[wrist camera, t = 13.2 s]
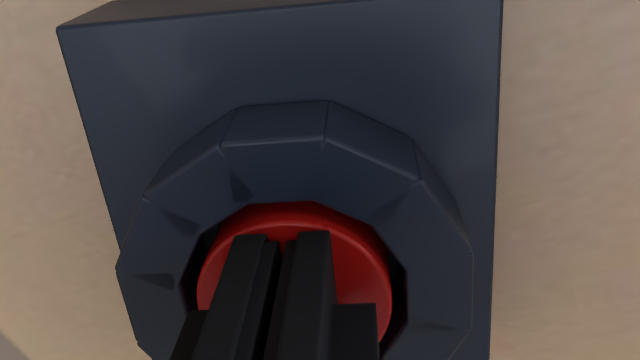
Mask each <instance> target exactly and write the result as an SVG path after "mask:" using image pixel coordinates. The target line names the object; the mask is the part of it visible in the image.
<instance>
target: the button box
mask: <svg viewBox="0 0 640 360" xmlns="http://www.w3.org/2000/svg"><path fill="white" fill-rule="evenodd" d="M502 23H503V0H120V1H111V2H109V3H106V4H104V5H102V6H100V7H98V8H96V9H93V10H91V11H89V12H87V13H85V14H83V15H81V16H78V17H76V18H74V19H72V20H70V21H68V22H65V23H63V24H61V25H59V26H57V27H56V34H57V37H58V41H59V44H60V47H61V51H62V54H63V58H64V61H65V64H66V68H67V71H68V75H69V78H70V81H71V85H72V88H73V92H74V95H75V98H76V102H77V105H78V109H79V112H80V116H81V119H82V122H83V126H84V129H85V133H86V136H87V139H88V143H89V146H90V150H91V153H92V156H93V160H94V163H95V167H96V170H97V174H98V177H99V180H100V184H101V187H102V191H103V194H104V197H105V201H106V204H107V208H108V211H109V214H110V218H111V221H112V225H113V228H114V231H115V235H116V238H117V242H118V245H119V249H120V255H119V257H118V260H117V263H116V266H115V270H116V275H117V279H118V282H119V285H120V289H121V292H122V295H123V299H124V302H125V305H126V308H127V312H128V315H129V318H130V322H131V325H132V328H133V331H134V335H135V338H136V340H137V341H138V343H137V344H138V346H139V347H140V348H141V349H142V350H143V351H144V352H145V353H146V354H148V355H149V356H150V357H151V358H152V360H170V357H171V355H172V352H173V349H174V347H175V344H176V342H177V339H178V337H179V334H180V332H181V329H182V327H183V324H184V322H185V319H186V317H187V315H188V314H189V312H191V311H192V310H198V304H197V283H198V277H199V274H200V271H201V269H202V266H203V264H204V261H205V259H206V256H207V254H208V251H209V249H210V246H211V244H212V241H213V239H214V237H215V234H216V232H217V229H218V227H219V224H220V222H221V221H223V220H224V219H226V218H227V217H229V216H231V215H232V214H234V213H235V212H237V211H239V210H240V209H242V208H243V207H245V206H247V205H248V204H265V203H282V202H298V201H314V202H317V203H319V204H322V205H324V206H326V207H329V208H331V209H333V210H336V211H338V212H340V213H343V214H345V215H347V216H350V217H352V218H354V219H357V220H359V221H361V222H364V223H366V224H368V225H371V226H372V228H373V229H374V230H375V232H376V233H377V234H378V236H379V237H380V238H381V239H382V241H383V242H384V243H385V245H386V246H387V247H388V255H389V267H390V278H391V290H392V313H391V319H390V322H389V325H388V328H387V330H386V332H385V334H384V336H383V337H382V339H381V341H380V342H379V355H380V360H489V359H490V333H491V307H492V281H493V255H494V229H495V204H496V178H497V152H498V126H499V100H500V75H501V49H502Z"/></svg>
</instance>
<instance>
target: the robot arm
mask: <svg viewBox="0 0 640 360" xmlns="http://www.w3.org/2000/svg"><path fill="white" fill-rule="evenodd" d="M170 360H380V355H379V339H378V325H377V311H376V302H375V303H352V304H338V302H337V292H336V283H335V273H334V264H333V254H332V245H331V236H330V231H329V230H320V231H302V232H298V235H297V240H287V242H286V246H285V251H284V256H283V261H282V255H281V249H280V244H279V242H278V241H269V239H268V236H267V234H266V233H265V234H246V235H235V236H234V238H233V241H232V244H231V246H230V249H229V252H228V255H227V258H226V261H225V264H224V266H223V269H222V272H221V275H220V278H219V281H218V284H217V286H216V289H215V292H214V295H213V298H212V301H211V304H210V306H209V309H208V310H192V311H191V312H189V314H188V315H187V317H186V319H185V322H184V324H183V327H182V329H181V332H180V334H179V337H178V339H177V342H176V344H175V347H174V349H173V352H172V355H171V357H170Z"/></svg>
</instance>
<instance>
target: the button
mask: <svg viewBox="0 0 640 360" xmlns="http://www.w3.org/2000/svg"><path fill="white" fill-rule="evenodd" d="M320 230H329V231H330V236H331V245H332V254H333V264H334V273H335V283H336V292H337V302H338V304H352V303H375V302H376V311H377V325H378V339H379V342H380V341H381V339H382V337H383V336H384V334H385V332H386V330H387V328H388V325H389V322H390V319H391V313H392V290H391V278H390V267H389V255H388V247H387V246H386V245H385V243H384V242H383V241H382V239H381V238H380V237H379V236H378V234H377V233H376V232H375V230H374V229H373V228H372V226H371V225H368V224H366V223H364V222H361V221H359V220H357V219H354V218H352V217H350V216H347V215H345V214H343V213H340V212H338V211H336V210H333V209H331V208H329V207H326V206H324V205H322V204H319V203H317V202H314V201H298V202H282V203H265V204H248V205H247V206H245V207H243V208H242V209H240V210H239V211H237V212H235V213H234V214H232V215H231V216H229V217H227V218H226V219H224V220H223V221H221V222H220V224H219V227H218V229H217V232H216V234H215V237H214V239H213V241H212V244H211V246H210V249H209V251H208V254H207V256H206V259H205V261H204V264H203V266H202V269H201V271H200V274H199V277H198V283H197V304H198V310H208V309H209V306H210V304H211V301H212V298H213V295H214V292H215V289H216V286H217V284H218V281H219V278H220V275H221V272H222V269H223V266H224V264H225V261H226V258H227V255H228V252H229V249H230V246H231V244H232V241H233V238H234V236H235V235H246V234H265V233H266V234H267V236H268V239H269V241H278V242H279V244H280V249H281V255H282V261H283V256H284V251H285V246H286V242H287V240H297V235H298V232H302V231H320Z"/></svg>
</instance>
